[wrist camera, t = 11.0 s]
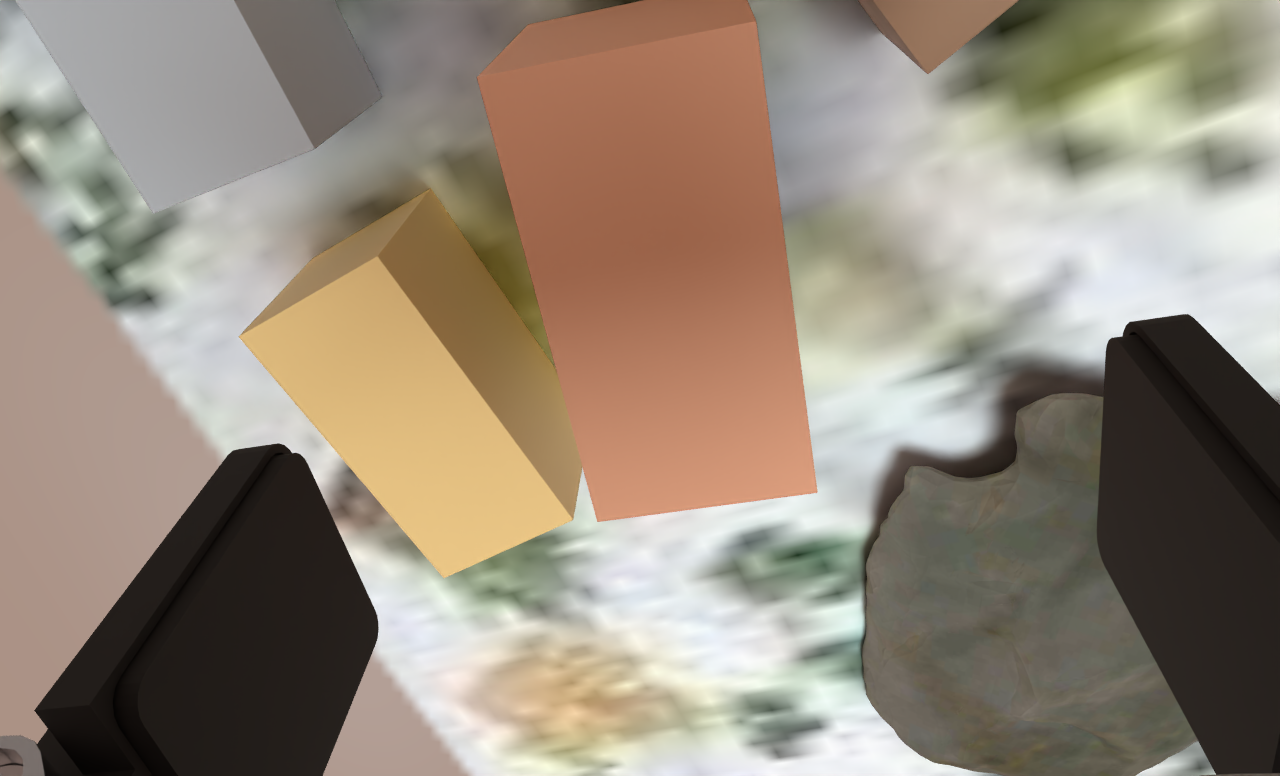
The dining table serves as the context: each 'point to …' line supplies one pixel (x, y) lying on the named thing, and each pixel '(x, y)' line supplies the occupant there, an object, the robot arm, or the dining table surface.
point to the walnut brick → (932, 25)
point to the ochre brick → (426, 386)
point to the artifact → (1014, 617)
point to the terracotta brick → (657, 250)
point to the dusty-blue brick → (206, 83)
